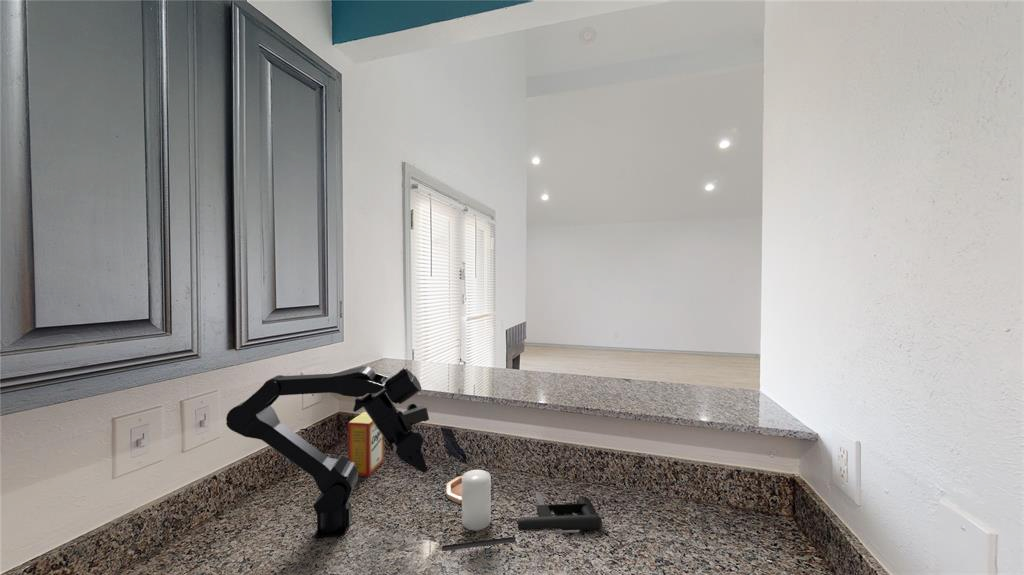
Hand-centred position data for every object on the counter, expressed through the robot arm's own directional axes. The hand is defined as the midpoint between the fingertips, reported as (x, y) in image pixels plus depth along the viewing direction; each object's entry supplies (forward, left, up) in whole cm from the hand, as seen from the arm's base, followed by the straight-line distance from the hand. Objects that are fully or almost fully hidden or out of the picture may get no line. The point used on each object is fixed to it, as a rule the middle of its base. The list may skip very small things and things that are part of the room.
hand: (420, 466), depth 90 cm
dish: (+12, +9, -13) cm, 20 cm away
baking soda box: (-18, +29, -13) cm, 36 cm away
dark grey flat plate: (+13, -5, -13) cm, 19 cm away
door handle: (+33, -3, -14) cm, 36 cm away
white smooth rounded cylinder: (+13, -4, -12) cm, 18 cm away
